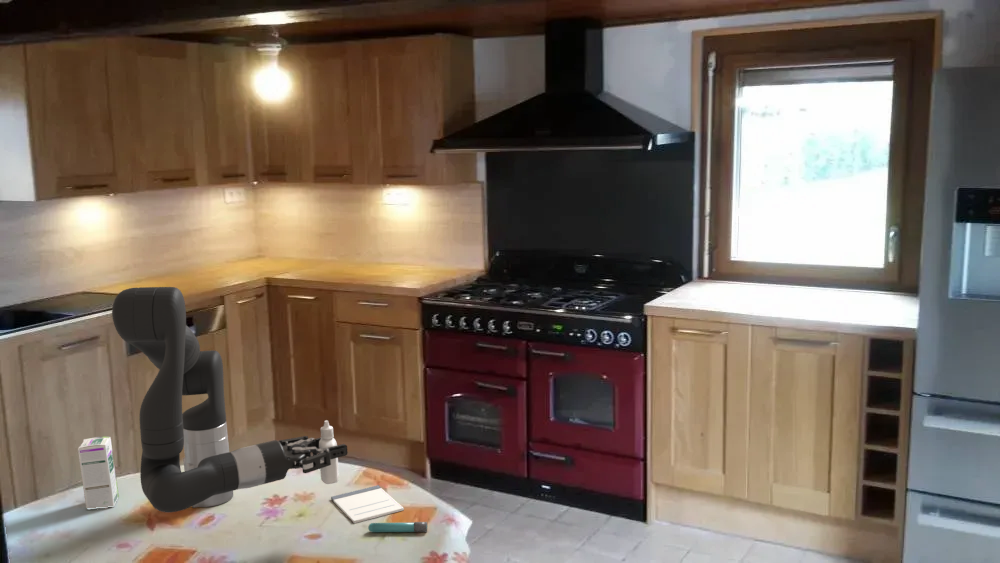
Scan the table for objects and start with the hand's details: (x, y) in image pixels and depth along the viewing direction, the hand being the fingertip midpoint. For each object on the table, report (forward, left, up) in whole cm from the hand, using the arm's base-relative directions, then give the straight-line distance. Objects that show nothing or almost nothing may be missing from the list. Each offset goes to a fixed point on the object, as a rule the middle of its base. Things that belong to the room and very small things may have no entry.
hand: (339, 444), depth 175 cm
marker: (+8, -8, -18) cm, 21 cm away
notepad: (+8, +8, -18) cm, 21 cm away
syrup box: (-41, +41, -18) cm, 61 cm away
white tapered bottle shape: (-2, 0, -7) cm, 7 cm away
